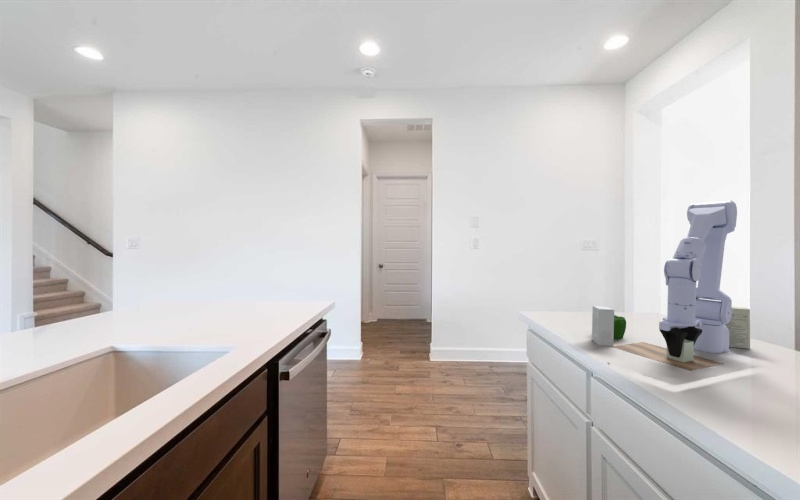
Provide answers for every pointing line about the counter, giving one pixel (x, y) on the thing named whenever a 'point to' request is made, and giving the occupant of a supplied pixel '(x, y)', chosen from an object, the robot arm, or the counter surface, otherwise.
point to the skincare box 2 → (739, 328)
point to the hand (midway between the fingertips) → (680, 355)
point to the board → (665, 356)
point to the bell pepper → (619, 327)
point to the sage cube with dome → (684, 352)
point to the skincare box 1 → (603, 325)
